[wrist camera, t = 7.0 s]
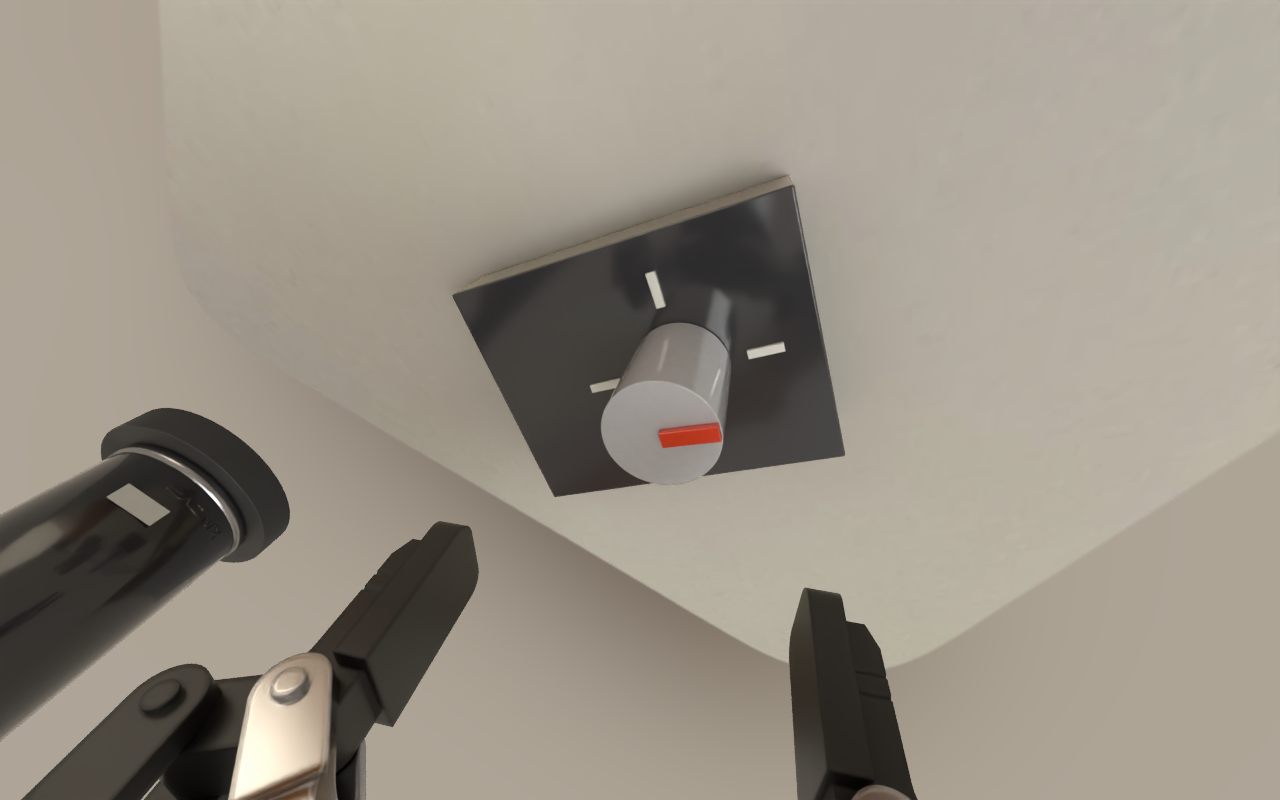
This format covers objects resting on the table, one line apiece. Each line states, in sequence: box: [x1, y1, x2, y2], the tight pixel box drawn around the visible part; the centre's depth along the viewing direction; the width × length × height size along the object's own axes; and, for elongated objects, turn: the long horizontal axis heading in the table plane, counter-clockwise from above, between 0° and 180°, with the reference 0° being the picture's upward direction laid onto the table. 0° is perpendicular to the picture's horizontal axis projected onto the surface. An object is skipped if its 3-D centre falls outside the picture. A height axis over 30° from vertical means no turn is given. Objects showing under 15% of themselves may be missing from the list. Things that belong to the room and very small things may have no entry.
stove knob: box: [601, 323, 731, 485], centre depth 18 cm, size 4×4×5 cm
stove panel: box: [452, 175, 845, 497], centre depth 22 cm, size 14×11×3 cm
